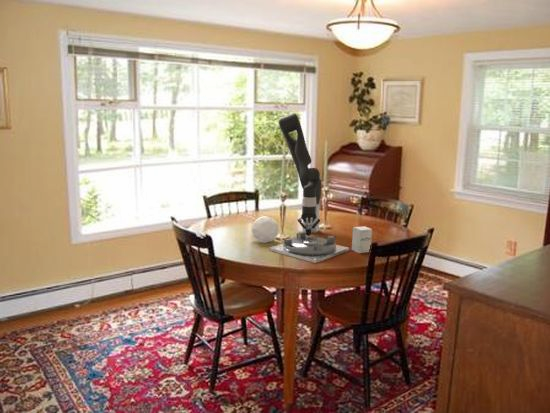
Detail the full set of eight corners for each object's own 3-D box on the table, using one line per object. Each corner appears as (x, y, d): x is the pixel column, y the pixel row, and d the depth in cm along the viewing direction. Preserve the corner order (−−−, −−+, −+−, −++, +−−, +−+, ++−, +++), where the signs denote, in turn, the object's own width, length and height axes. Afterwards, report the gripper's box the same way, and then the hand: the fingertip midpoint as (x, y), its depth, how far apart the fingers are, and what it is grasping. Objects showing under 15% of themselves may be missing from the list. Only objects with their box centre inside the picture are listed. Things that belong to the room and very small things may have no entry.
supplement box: (359, 253, 262) (360, 230, 260) (351, 249, 269) (352, 226, 266) (371, 252, 265) (372, 229, 263) (363, 248, 272) (364, 225, 269)
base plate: (304, 239, 286) (304, 230, 285) (349, 250, 267) (349, 240, 266) (269, 250, 264) (269, 240, 263) (315, 263, 245) (315, 252, 244)
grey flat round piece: (276, 241, 274) (277, 232, 273) (324, 238, 282) (324, 229, 281) (292, 256, 248) (293, 246, 247) (344, 253, 256) (344, 243, 255)
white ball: (267, 248, 285) (279, 225, 289) (272, 246, 271) (285, 222, 274) (245, 236, 284) (258, 213, 287) (249, 233, 269) (262, 209, 273)
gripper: (297, 206, 269) (297, 237, 272) (322, 206, 270) (321, 237, 274) (296, 203, 276) (295, 233, 280) (320, 203, 277) (319, 233, 281)
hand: (308, 235), depth 277 cm, fingers closed
